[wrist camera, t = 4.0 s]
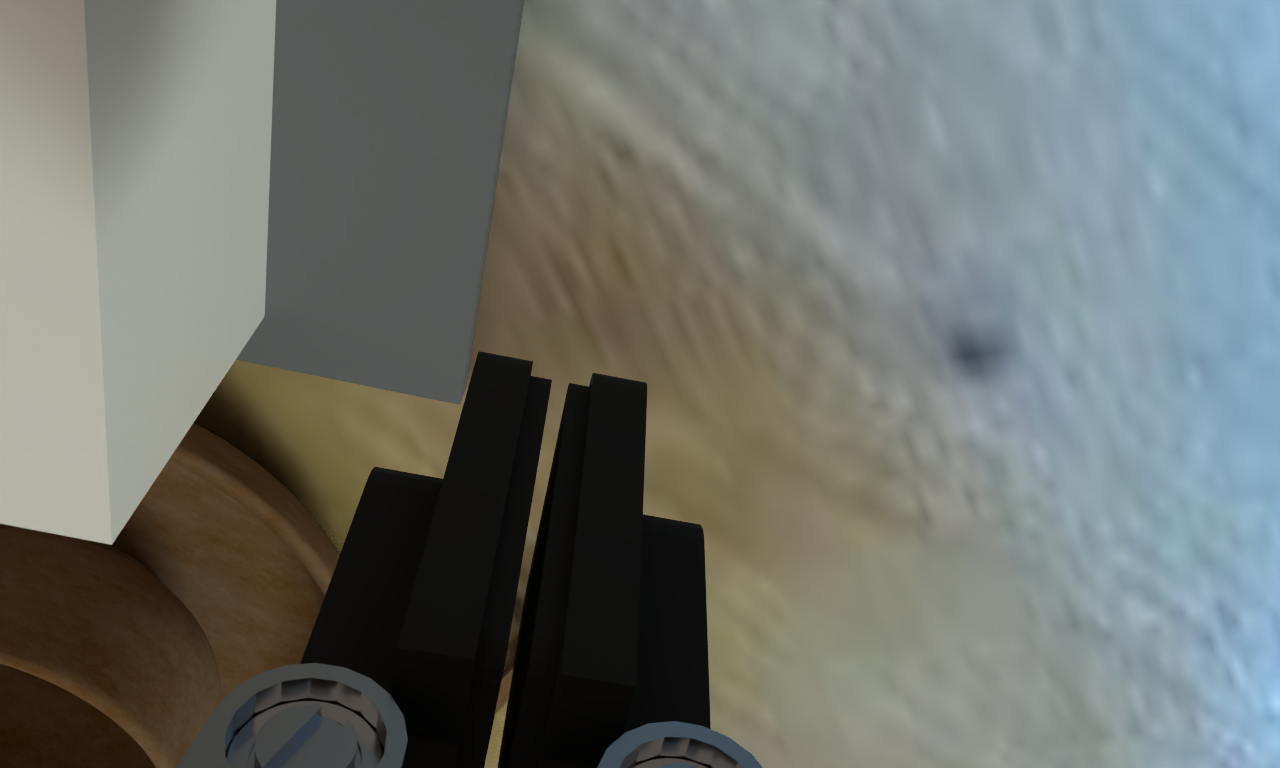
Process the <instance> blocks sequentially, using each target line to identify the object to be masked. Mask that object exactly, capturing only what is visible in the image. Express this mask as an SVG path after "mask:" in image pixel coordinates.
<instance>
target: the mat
mask: <svg viewBox="0 0 1280 768" xmlns="http://www.w3.org/2000/svg"><path fill="white" fill-rule="evenodd" d="M523 4H524V0H276V21H275V48H274V75H273V103H272V130H271V157H270V184H269V211H268V239H267V266H266V293H265V316H264V318H263V319H262V321H261V322H260V324H259V325H258V327H257V328H256V330H255V331H254V333H253V334H252V336H251V337H250V339H249V340H248V342H247V343H246V345H245V346H244V348H243V349H242V351H241V352H240V354H239V355H238V357H237V358H236V359H237V360H242V361H247V362H252V363H257V364H262V365H267V366H271V367H276V368H281V369H286V370H291V371H296V372H301V373H306V374H311V375H316V376H321V377H326V378H331V379H336V380H341V381H346V382H351V383H356V384H361V385H366V386H370V387H375V388H380V389H385V390H390V391H395V392H400V393H405V394H410V395H415V396H420V397H425V398H430V399H435V400H440V401H445V402H450V403H455V404H460V403H461V400H462V397H463V394H464V391H465V388H466V384H467V377H468V370H469V364H470V357H471V350H472V344H473V337H474V330H475V324H476V317H477V310H478V304H479V297H480V290H481V284H482V277H483V270H484V264H485V257H486V250H487V244H488V237H489V230H490V224H491V217H492V210H493V204H494V197H495V190H496V184H497V177H498V170H499V164H500V157H501V150H502V144H503V137H504V130H505V124H506V117H507V110H508V104H509V97H510V90H511V84H512V77H513V70H514V64H515V57H516V50H517V44H518V37H519V30H520V24H521V17H522V10H523Z"/></svg>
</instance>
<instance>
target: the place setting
mask: <svg viewBox="0 0 1280 768" xmlns="http://www.w3.org/2000/svg"><path fill="white" fill-rule="evenodd" d="M339 556H340V553H339V552H338V550H337V548H336V547H335V545H334V544H333V543H332V541H331V540H330V538H329V537H328V536H327V534H326V533H325V531H324V530H323V529H322V527H321V526H320V524H319V523H318V522H317V520H316V519H315V518H314V517H313V515H312V514H311V513H310V512H309V511H308V510H307V509H306V508H305V507H304V506H303V505H302V503H301V502H300V501H299V500H298V499H297V498H296V497H295V496H294V495H293V494H292V493H291V492H290V491H289V490H288V489H287V488H286V487H285V486H284V485H283V484H281V483H280V482H279V481H278V480H277V479H276V478H274V477H273V476H272V475H271V474H270V473H269V472H268V471H266V470H265V469H264V468H263V467H262V466H261V465H259V464H258V463H257V462H255V461H254V460H252V459H251V458H249V457H248V456H247V455H245V454H244V453H242V452H241V451H239V450H238V449H237V448H235V447H234V446H232V445H231V444H229V443H228V442H227V441H225V440H223V439H222V438H220V437H218V436H216V435H215V434H213V433H211V432H209V431H207V430H206V429H204V428H202V427H200V426H199V425H197V424H195V423H193V424H192V426H191V427H190V429H189V430H188V432H187V433H186V435H185V436H184V438H183V439H182V441H181V442H180V444H179V445H178V447H177V448H176V450H175V451H174V453H173V454H172V456H171V457H170V459H169V460H168V462H167V463H166V465H165V466H164V468H163V469H162V471H161V472H160V474H159V475H158V477H157V478H156V480H155V481H154V483H153V484H152V486H151V487H150V489H149V490H148V492H147V493H146V495H145V496H144V498H143V499H142V501H141V502H140V504H139V505H138V507H137V508H136V510H135V511H134V513H133V514H132V516H131V517H130V519H129V520H128V522H127V523H126V525H125V526H124V527H123V529H122V530H121V532H120V533H119V535H118V536H117V538H116V539H115V541H114V542H113V544H112V545H110V544H105V543H99V542H94V541H89V540H84V539H78V538H73V537H68V536H63V535H58V534H52V533H47V532H42V531H37V530H31V529H26V528H21V527H16V526H10V525H5V524H0V768H176V767H177V765H178V763H179V762H180V760H181V759H182V757H183V756H184V754H185V753H186V751H187V750H188V748H189V747H190V745H191V743H192V742H193V740H194V739H195V737H196V736H197V734H198V733H199V731H200V730H201V728H202V727H203V725H204V723H205V722H206V720H207V719H208V717H209V716H210V714H211V713H212V711H213V710H214V709H215V708H216V707H217V705H218V704H219V703H220V702H221V701H222V700H223V699H224V698H225V697H226V695H227V694H228V693H229V692H230V691H231V690H232V689H234V688H235V687H237V686H239V685H240V684H242V683H243V682H245V681H247V680H248V679H250V678H252V677H253V676H255V675H257V674H259V673H263V672H266V671H269V670H272V669H275V668H279V667H282V666H285V665H295V664H300V663H301V660H302V657H303V655H304V652H305V649H306V647H307V644H308V641H309V638H310V636H311V633H312V630H313V627H314V625H315V622H316V619H317V616H318V614H319V611H320V608H321V605H322V603H323V600H324V597H325V595H326V592H327V589H328V586H329V584H330V581H331V578H332V575H333V573H334V570H335V567H336V564H337V562H338V559H339ZM513 667H514V664H513V665H512V666H510V667H509V668H508V669H507V670H506V671H505V672H504V673H503V675H502V680H501V685H500V690H499V696H498V700H497V705H496V710H495V715H496V714H497V712H498V711H499V710H500V709H501V708H502V707H503V706H504V704H505V703H506V702H507V701H508V699H509V692H510V686H511V679H512V673H513ZM495 715H494V716H495Z"/></svg>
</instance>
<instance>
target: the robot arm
mask: <svg viewBox="0 0 1280 768" xmlns="http://www.w3.org/2000/svg"><path fill="white" fill-rule="evenodd" d="M532 365H533V361H527V360H522V359H517V358H511V357H506V356H501V355H495V354H490V353H485V352H480V351H479V352H478V355H477V359H476V362H475V366H474V369H473V373H472V377H471V380H470V384H469V388H468V391H467V395H466V398H465V402H464V406H463V409H462V413H461V417H460V420H459V424H458V427H457V431H456V435H455V438H454V442H453V446H452V449H451V453H450V457H449V460H448V464H447V467H446V471H445V475H444V478H443V479H440V478H435V477H429V476H423V475H418V474H412V473H407V472H401V471H395V470H390V469H384V468H379V467H374V468H373V469H372V471H371V473H370V475H369V478H368V480H367V482H366V485H365V488H364V491H363V493H362V496H361V499H360V502H359V504H358V507H357V510H356V513H355V515H354V518H353V521H352V523H351V526H350V529H349V532H348V534H347V537H346V540H345V543H344V545H343V548H342V551H341V554H340V556H339V559H338V562H337V564H336V567H335V570H334V573H333V575H332V578H331V581H330V584H329V586H328V589H327V592H326V595H325V597H324V600H323V603H322V605H321V608H320V611H319V614H318V616H317V619H316V622H315V625H314V627H313V630H312V633H311V636H310V638H309V641H308V644H307V647H306V649H305V652H304V655H303V657H302V660H301V663H300V664H295V665H285V666H282V667H279V668H275V669H272V670H269V671H266V672H263V673H259V674H257V675H255V676H253V677H252V678H250V679H248V680H247V681H245V682H243V683H242V684H240V685H239V686H237V687H235V688H234V689H232V690H231V691H230V692H229V693H228V694H227V695H226V697H225V698H224V699H223V700H222V701H221V702H220V703H219V704H218V705H217V707H216V708H215V709H214V710H213V711H212V713H211V714H210V716H209V717H208V719H207V720H206V722H205V723H204V725H203V727H202V728H201V730H200V731H199V733H198V734H197V736H196V737H195V739H194V740H193V742H192V743H191V745H190V747H189V748H188V750H187V751H186V753H185V754H184V756H183V757H182V759H181V760H180V762H179V763H178V765H177V767H176V768H484V765H485V760H486V755H487V750H488V745H489V740H490V735H491V730H492V725H493V720H494V715H495V710H496V705H497V700H498V696H499V690H500V685H501V680H502V675H503V670H504V664H505V659H506V653H507V647H508V642H509V636H510V630H511V624H512V618H513V612H514V606H515V600H516V594H517V588H518V582H519V576H520V570H521V564H522V558H523V551H524V545H525V539H526V533H527V527H528V521H529V515H530V509H531V503H532V497H533V491H534V485H535V479H536V473H537V467H538V461H539V455H540V449H541V443H542V437H543V431H544V425H545V419H546V413H547V406H548V400H549V394H550V388H551V382H552V380H550V379H544V378H539V377H534V376H531V370H532ZM646 408H647V384H646V383H644V382H639V381H634V380H628V379H623V378H618V377H612V376H607V375H602V374H596V373H593V374H592V377H591V381H590V385H589V387H587V386H582V385H576V384H571V383H569V386H568V390H567V394H566V399H565V404H564V409H563V414H562V418H561V423H560V428H559V433H558V438H557V443H556V448H555V452H554V457H553V462H552V467H551V472H550V477H549V481H548V486H547V491H546V496H545V501H544V506H543V511H542V515H541V520H540V525H539V530H538V535H537V540H536V544H535V549H534V554H533V559H532V564H531V569H530V574H529V578H528V583H527V588H526V594H525V599H524V604H523V610H522V616H521V622H520V628H519V635H518V641H517V647H516V654H515V660H514V667H513V673H512V679H511V686H510V692H509V699H508V705H507V711H506V718H505V724H504V730H503V737H502V743H501V750H500V756H499V762H498V768H763V767H762V766H761V765H760V764H759V762H758V761H757V760H756V759H755V757H754V756H753V755H752V754H751V753H750V752H748V751H747V750H746V749H744V748H743V747H741V746H740V745H739V744H737V743H736V742H735V741H733V740H732V739H731V738H729V737H727V736H725V735H723V734H720V733H718V732H716V731H713V730H711V729H710V700H709V670H708V640H707V610H706V580H705V550H704V534H703V529H702V527H701V525H699V524H693V523H687V522H682V521H676V520H671V519H665V518H659V517H654V516H648V515H643V491H644V463H645V435H646Z"/></svg>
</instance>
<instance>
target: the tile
mask: <svg viewBox="0 0 1280 768" xmlns="http://www.w3.org/2000/svg"><path fill="white" fill-rule="evenodd" d="M275 21H276V0H0V524H5V525H10V526H16V527H21V528H26V529H31V530H37V531H42V532H47V533H52V534H58V535H63V536H68V537H73V538H78V539H84V540H89V541H94V542H99V543H105V544H110V545H112V544H113V542H114V541H115V539H116V538H117V536H118V535H119V533H120V532H121V530H122V529H123V527H124V526H125V525H126V523H127V522H128V520H129V519H130V517H131V516H132V514H133V513H134V511H135V510H136V508H137V507H138V505H139V504H140V502H141V501H142V499H143V498H144V496H145V495H146V493H147V492H148V490H149V489H150V487H151V486H152V484H153V483H154V481H155V480H156V478H157V477H158V475H159V474H160V472H161V471H162V469H163V468H164V466H165V465H166V463H167V462H168V460H169V459H170V457H171V456H172V454H173V453H174V451H175V450H176V448H177V447H178V445H179V444H180V442H181V441H182V439H183V438H184V436H185V435H186V433H187V432H188V430H189V429H190V427H191V426H192V424H193V423H194V421H195V420H196V418H197V417H198V415H199V414H200V412H201V411H202V409H203V408H204V406H205V405H206V403H207V402H208V400H209V399H210V397H211V396H212V394H213V393H214V391H215V390H216V388H217V387H218V385H219V384H220V382H221V381H222V379H223V378H224V376H225V375H226V373H227V372H228V370H229V369H230V367H231V366H232V364H233V363H234V361H235V360H236V358H237V357H238V355H239V354H240V352H241V351H242V349H243V348H244V346H245V345H246V343H247V342H248V340H249V339H250V337H251V336H252V334H253V333H254V331H255V330H256V328H257V327H258V325H259V324H260V322H261V321H262V319H263V318H264V316H265V293H266V266H267V239H268V211H269V184H270V157H271V130H272V103H273V75H274V48H275Z"/></svg>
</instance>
